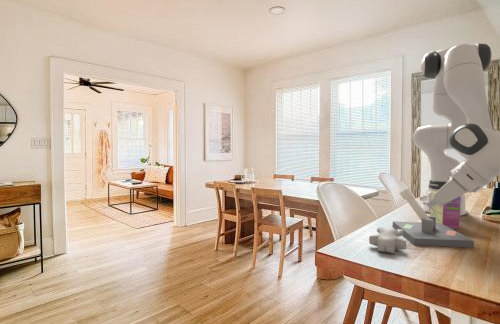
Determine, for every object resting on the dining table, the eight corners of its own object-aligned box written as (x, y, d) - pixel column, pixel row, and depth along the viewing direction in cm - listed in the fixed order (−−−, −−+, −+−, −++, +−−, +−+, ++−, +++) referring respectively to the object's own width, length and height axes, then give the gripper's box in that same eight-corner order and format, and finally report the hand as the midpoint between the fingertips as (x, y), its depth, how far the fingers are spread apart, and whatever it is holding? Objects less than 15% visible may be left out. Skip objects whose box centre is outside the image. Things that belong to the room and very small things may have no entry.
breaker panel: (392, 226, 106) (392, 210, 105) (440, 228, 103) (440, 211, 103) (414, 244, 86) (414, 224, 86) (473, 247, 83) (474, 227, 83)
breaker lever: (437, 224, 95) (409, 187, 99) (435, 227, 91) (406, 189, 96) (428, 228, 96) (401, 192, 101) (426, 231, 93) (398, 193, 98)
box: (460, 229, 103) (461, 196, 102) (442, 228, 104) (443, 195, 103) (446, 221, 113) (447, 191, 112) (430, 221, 114) (431, 191, 113)
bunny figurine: (366, 238, 80) (374, 220, 93) (366, 255, 81) (374, 235, 94) (405, 243, 75) (407, 224, 88) (405, 262, 76) (407, 239, 89)
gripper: (461, 168, 97) (426, 194, 103) (455, 172, 81) (415, 202, 88) (477, 182, 94) (441, 208, 101) (475, 189, 78) (431, 219, 85)
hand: (428, 205), depth 94 cm, fingers closed
